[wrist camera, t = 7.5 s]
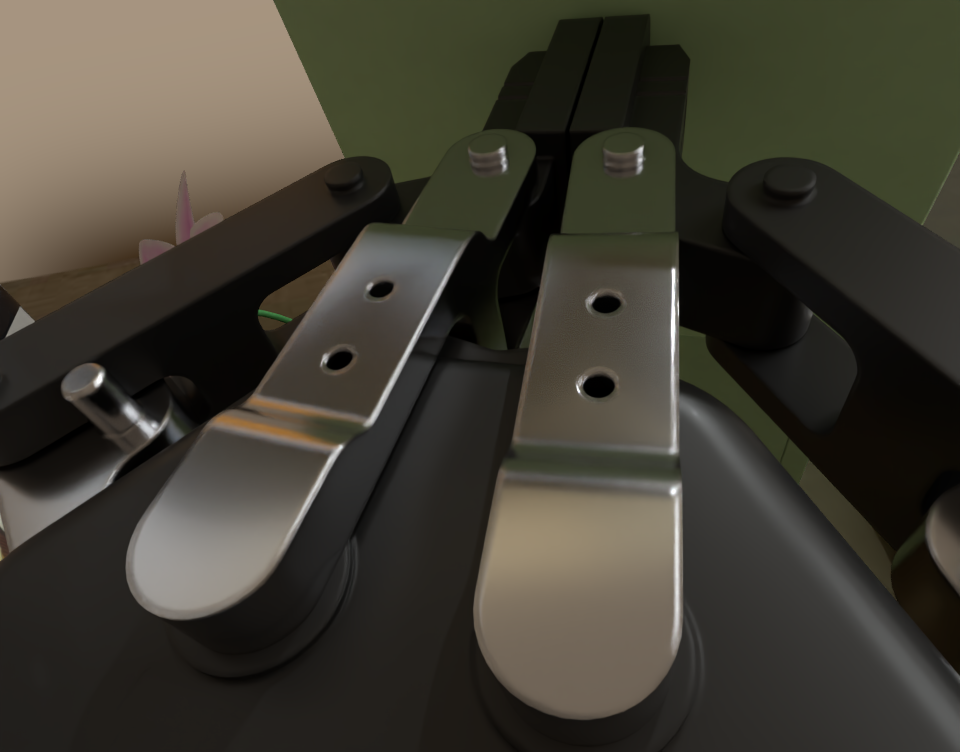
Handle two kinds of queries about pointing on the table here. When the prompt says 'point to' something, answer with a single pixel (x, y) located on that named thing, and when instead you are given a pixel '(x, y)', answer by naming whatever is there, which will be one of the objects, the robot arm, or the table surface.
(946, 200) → the table surface
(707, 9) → the green lid
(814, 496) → the table surface
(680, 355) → the keepsake box
